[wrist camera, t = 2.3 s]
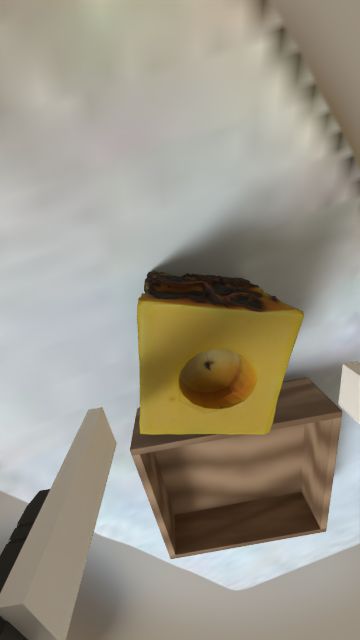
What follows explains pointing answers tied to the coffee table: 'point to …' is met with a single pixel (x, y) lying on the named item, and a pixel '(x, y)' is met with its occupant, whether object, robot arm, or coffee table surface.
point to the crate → (243, 477)
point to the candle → (211, 354)
